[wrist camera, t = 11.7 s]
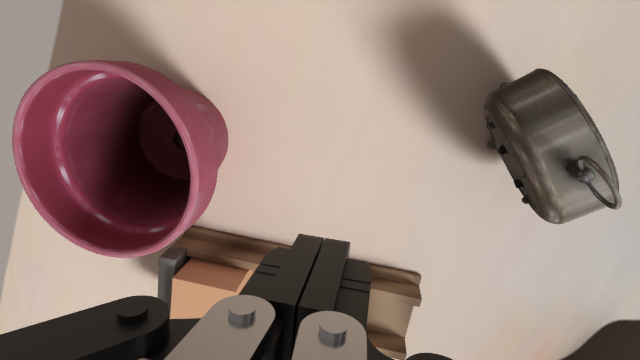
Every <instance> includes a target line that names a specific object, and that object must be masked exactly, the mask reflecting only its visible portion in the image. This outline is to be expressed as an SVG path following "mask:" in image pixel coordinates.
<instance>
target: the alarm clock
mask: <svg viewBox="0 0 640 360" xmlns="http://www.w3.org/2000/svg"><path fill="white" fill-rule="evenodd" d="M484 114H485V119H486V122H487V128H488V129H489V131H490V133H491V136H492V138H493V140H494V142H488V143H487V146H488V147H489V148H491V149H493V148H494V149H497V151H498V153H499V154H500V155H501V157H502V159H503V161H504V163H505V165H506V167H507V169H508V171H509V173H510V174H511V176H512V178H513V180H514V183H515V186H516V188H519V190H520V191H521V193H522V195H523V196H524V198H522V202H523V203H525V204H527V203H528V204H529V205H530V206H531V208H532V209H533V210H534V211H535V212H536V213H537V214H538V215H539V216H540V217H541V218H542V219H544V220H546V221H547V222H550V223H554V224H564V223H566V222H569V221H572V220H574V219H577V218H579V217H582V216H584V215H587V214H590V213H592V212H595V211H597V210H600V209H603V208H605V207H609V208H611V209H619V208H620V207H621V205H622V203H623V202H622V198H621V196H620V194H619V181H618V175H617V172H616V168H615V166H614V163H613V160H612V158H611V155H610V153H609V151H608V148H607V146H606V144H605V142H604V140H603V138H602V136H601V134H600V132H599V131H598V129H597V127H596V125H595V123H594V122H593V120H592V118H591V117H590V115H589V114H588V112H587V110H586V109H585V107H584V106H583V104H582V103H581V101H580V100H579V99H578V97H577V96H576V95H575V94H574V93H573V91H572V90H571V89H570V88H569V87H568V86H567V85H566V84H565V83H564V82H563V81H562V80H561V79H560V78H559V77H557V76H556V75H555V74H553V73H552V72H550V71H548V70H545V69H536V70H534V71H533V72H531V73H529V74H527V75H525V76H523V77H521V78H519V79H517V80H515V81H513V82H511V83H509V84H508V83H502V84H501V88H499V89H497V90H495V91H494V92H492V93H490V94H489V96H488V97H487V99H486V101H485V105H484Z"/></svg>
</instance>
